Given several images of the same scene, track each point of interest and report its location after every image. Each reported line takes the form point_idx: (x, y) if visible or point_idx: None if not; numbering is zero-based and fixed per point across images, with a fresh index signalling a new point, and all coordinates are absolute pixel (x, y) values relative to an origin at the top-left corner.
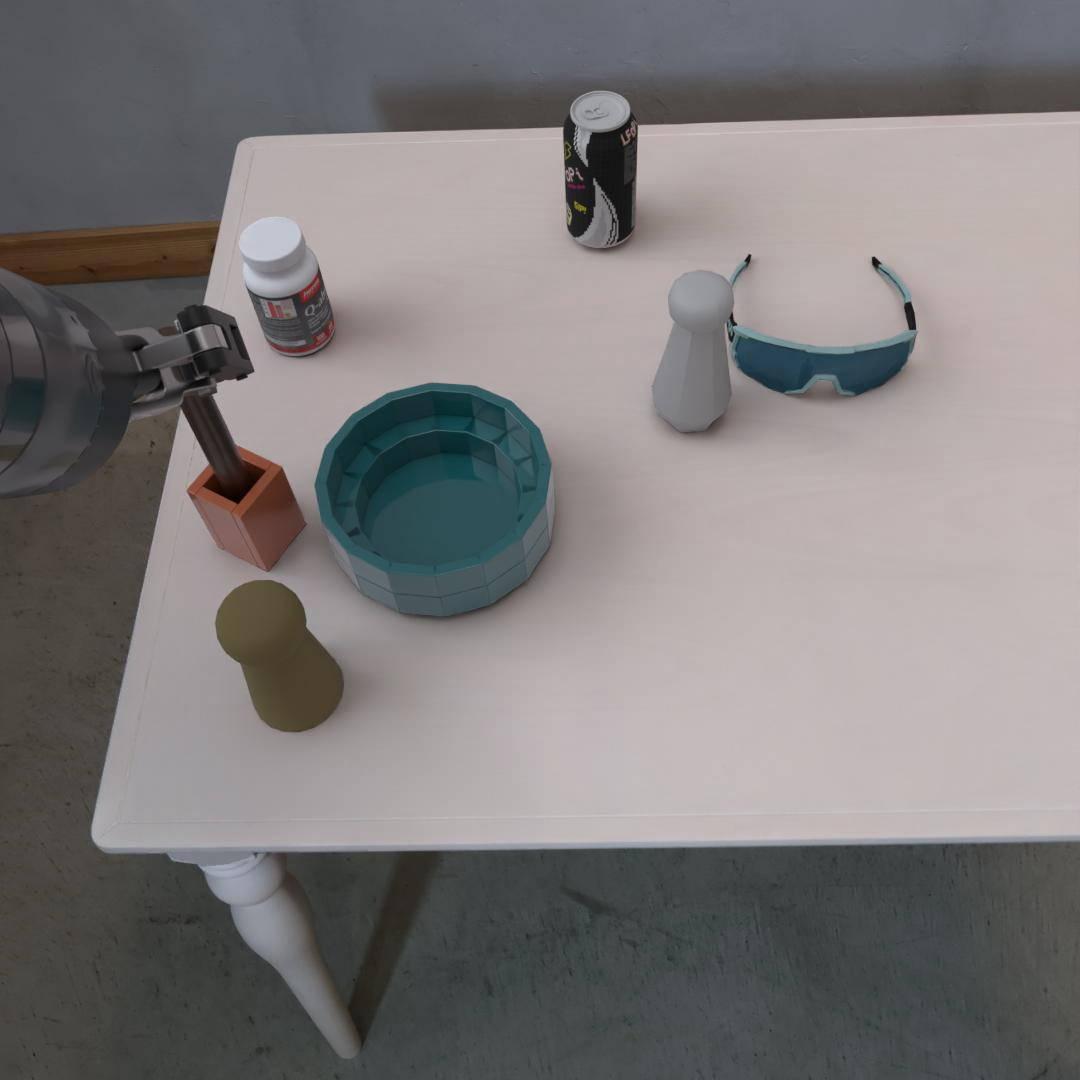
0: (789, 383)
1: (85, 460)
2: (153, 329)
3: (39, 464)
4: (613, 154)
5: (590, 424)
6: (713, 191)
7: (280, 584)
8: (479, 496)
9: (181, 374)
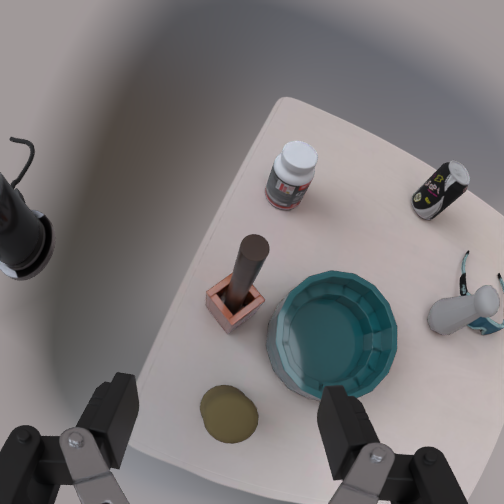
0: (471, 323)
1: None
2: (378, 499)
3: None
4: (457, 193)
5: (400, 310)
6: (459, 212)
7: (251, 405)
8: (345, 334)
9: (340, 467)
